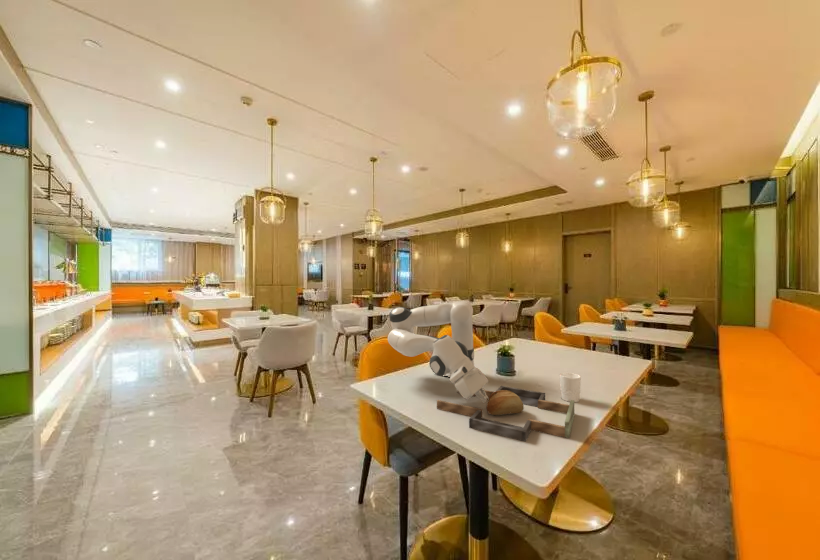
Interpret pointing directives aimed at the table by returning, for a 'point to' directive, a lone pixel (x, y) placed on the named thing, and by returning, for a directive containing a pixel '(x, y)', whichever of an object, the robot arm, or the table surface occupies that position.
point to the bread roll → (504, 403)
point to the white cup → (570, 386)
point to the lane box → (512, 430)
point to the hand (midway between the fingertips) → (486, 400)
